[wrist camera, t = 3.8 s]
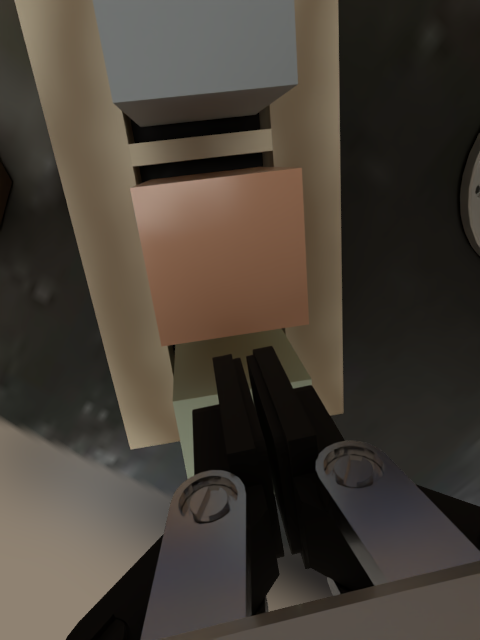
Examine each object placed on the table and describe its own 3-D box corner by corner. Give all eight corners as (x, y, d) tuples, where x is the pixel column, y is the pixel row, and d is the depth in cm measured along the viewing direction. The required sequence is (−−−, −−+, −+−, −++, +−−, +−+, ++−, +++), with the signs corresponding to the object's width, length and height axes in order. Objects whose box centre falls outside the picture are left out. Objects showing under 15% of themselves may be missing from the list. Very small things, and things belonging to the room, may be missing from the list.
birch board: (315, -64, 20) (337, -102, 17) (328, 389, 29) (343, 413, 27) (22, -44, 19) (-7, -80, 16) (135, 421, 28) (130, 449, 25)
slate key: (243, -28, 18) (286, -167, 10) (255, 114, 20) (298, 84, 12) (114, -18, 17) (61, -156, 10) (140, 127, 19) (112, 102, 12)
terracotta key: (259, 166, 21) (301, 167, 13) (268, 272, 23) (308, 324, 15) (150, 179, 20) (129, 188, 13) (169, 286, 22) (161, 346, 15)
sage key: (271, 311, 24) (311, 379, 16) (278, 393, 26) (316, 486, 18) (176, 325, 23) (172, 401, 16) (191, 407, 25) (193, 508, 18)
